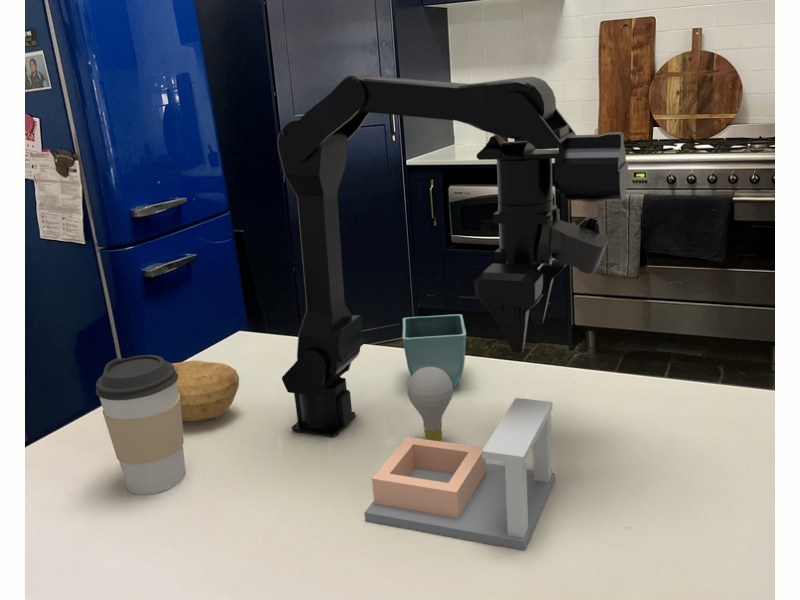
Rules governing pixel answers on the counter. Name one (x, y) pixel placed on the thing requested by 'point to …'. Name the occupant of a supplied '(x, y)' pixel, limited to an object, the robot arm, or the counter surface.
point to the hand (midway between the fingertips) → (528, 337)
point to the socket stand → (471, 482)
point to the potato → (205, 389)
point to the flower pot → (435, 344)
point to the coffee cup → (144, 421)
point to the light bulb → (430, 398)
